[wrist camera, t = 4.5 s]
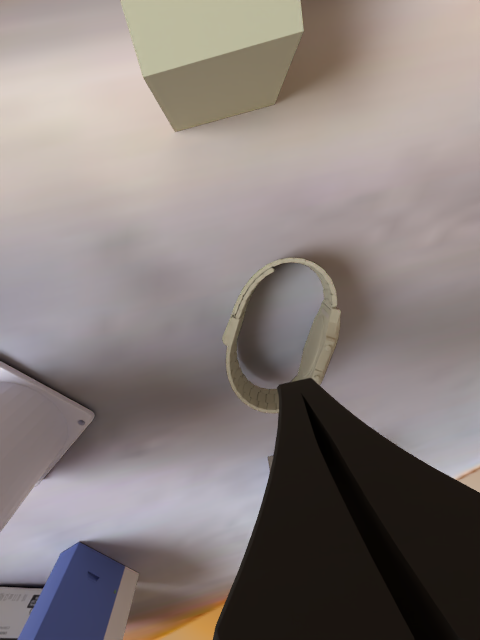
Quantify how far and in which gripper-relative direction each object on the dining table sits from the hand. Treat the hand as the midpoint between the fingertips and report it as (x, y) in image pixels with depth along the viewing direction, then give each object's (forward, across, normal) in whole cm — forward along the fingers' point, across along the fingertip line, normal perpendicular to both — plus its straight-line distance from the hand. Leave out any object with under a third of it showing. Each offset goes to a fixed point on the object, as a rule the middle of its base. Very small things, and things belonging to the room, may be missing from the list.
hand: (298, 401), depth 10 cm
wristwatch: (+8, 0, 0) cm, 8 cm away
